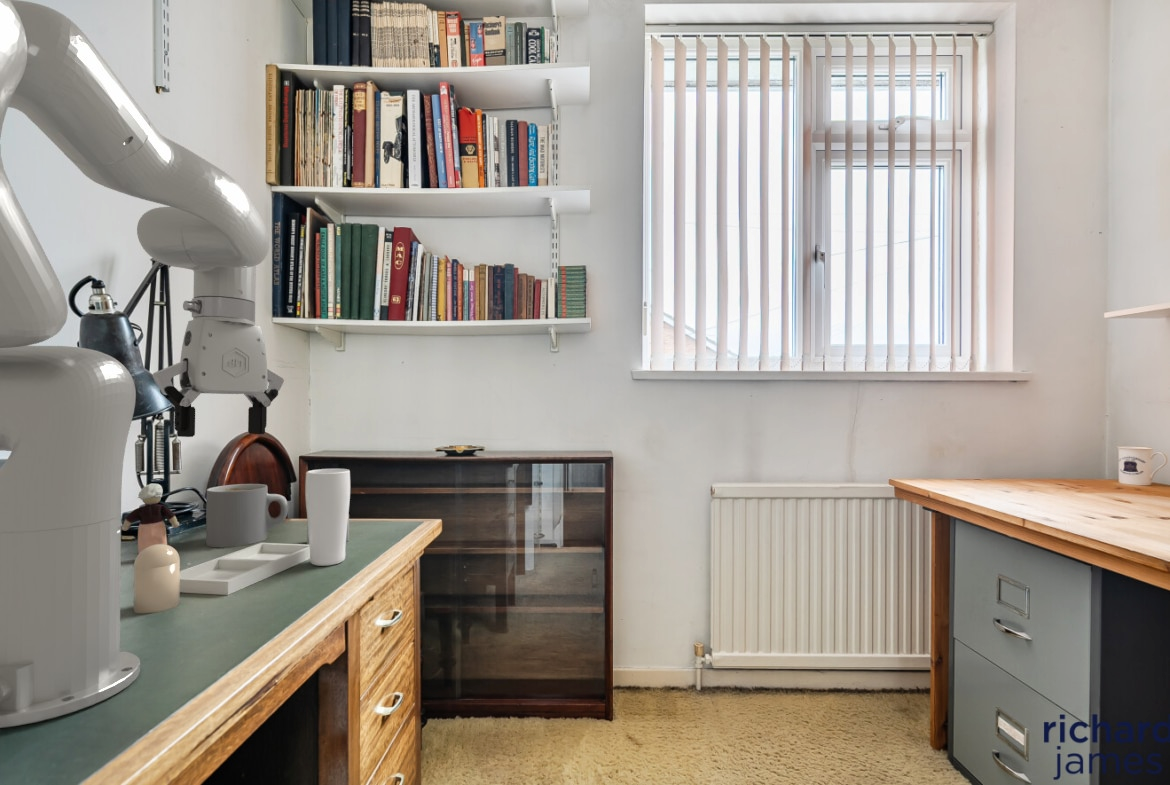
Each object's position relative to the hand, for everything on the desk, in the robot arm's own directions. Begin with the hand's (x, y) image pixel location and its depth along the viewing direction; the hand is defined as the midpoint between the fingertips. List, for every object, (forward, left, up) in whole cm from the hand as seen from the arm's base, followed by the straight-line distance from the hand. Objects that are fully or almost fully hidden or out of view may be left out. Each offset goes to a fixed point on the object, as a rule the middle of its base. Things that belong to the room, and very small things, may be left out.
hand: (222, 435), depth 83 cm
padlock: (+28, +1, -22) cm, 35 cm away
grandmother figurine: (+12, +23, -22) cm, 34 cm away
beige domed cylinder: (-7, +3, -22) cm, 23 cm away
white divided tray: (+8, +3, -22) cm, 23 cm away
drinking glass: (+15, -7, -22) cm, 27 cm away
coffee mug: (+27, +17, -22) cm, 39 cm away
